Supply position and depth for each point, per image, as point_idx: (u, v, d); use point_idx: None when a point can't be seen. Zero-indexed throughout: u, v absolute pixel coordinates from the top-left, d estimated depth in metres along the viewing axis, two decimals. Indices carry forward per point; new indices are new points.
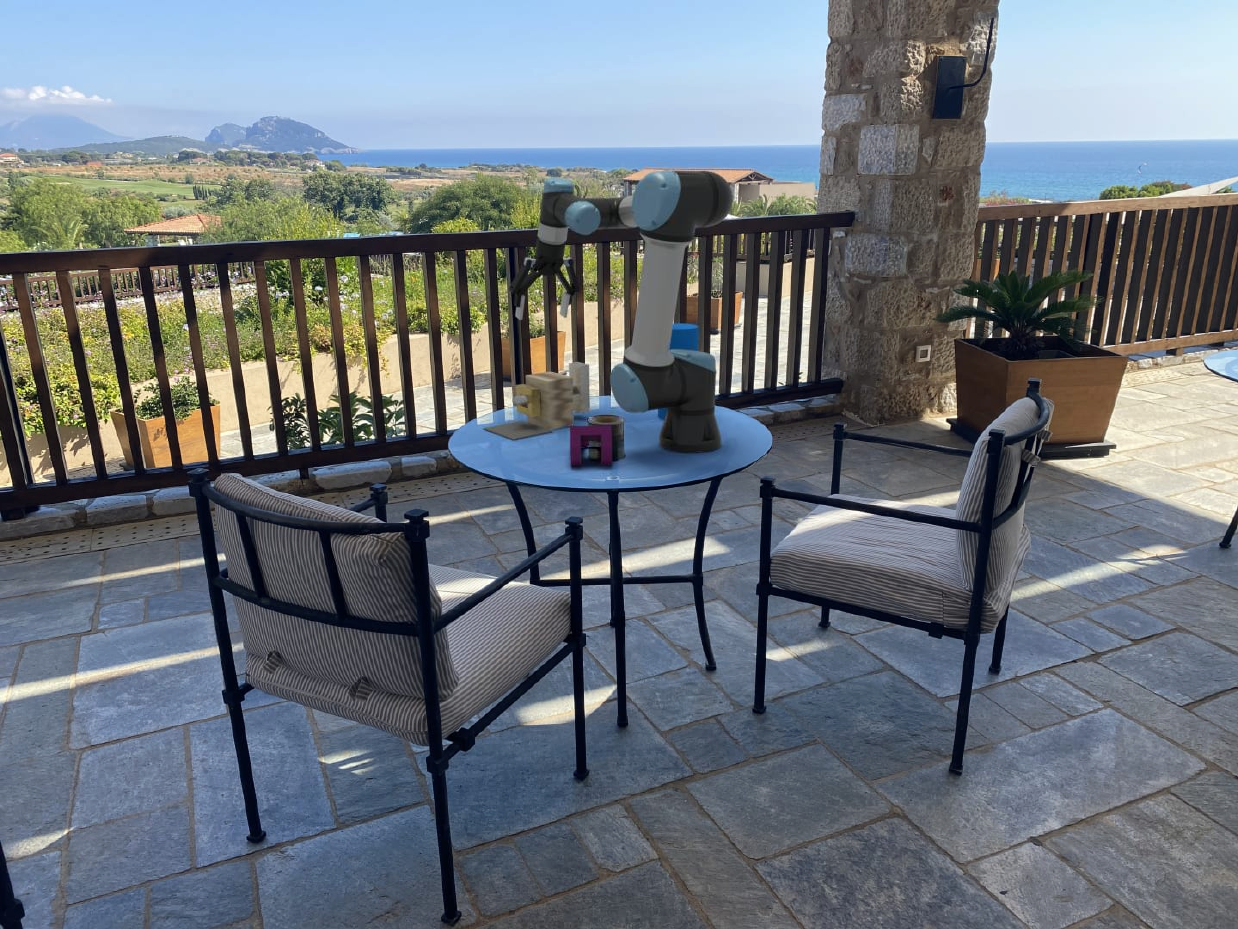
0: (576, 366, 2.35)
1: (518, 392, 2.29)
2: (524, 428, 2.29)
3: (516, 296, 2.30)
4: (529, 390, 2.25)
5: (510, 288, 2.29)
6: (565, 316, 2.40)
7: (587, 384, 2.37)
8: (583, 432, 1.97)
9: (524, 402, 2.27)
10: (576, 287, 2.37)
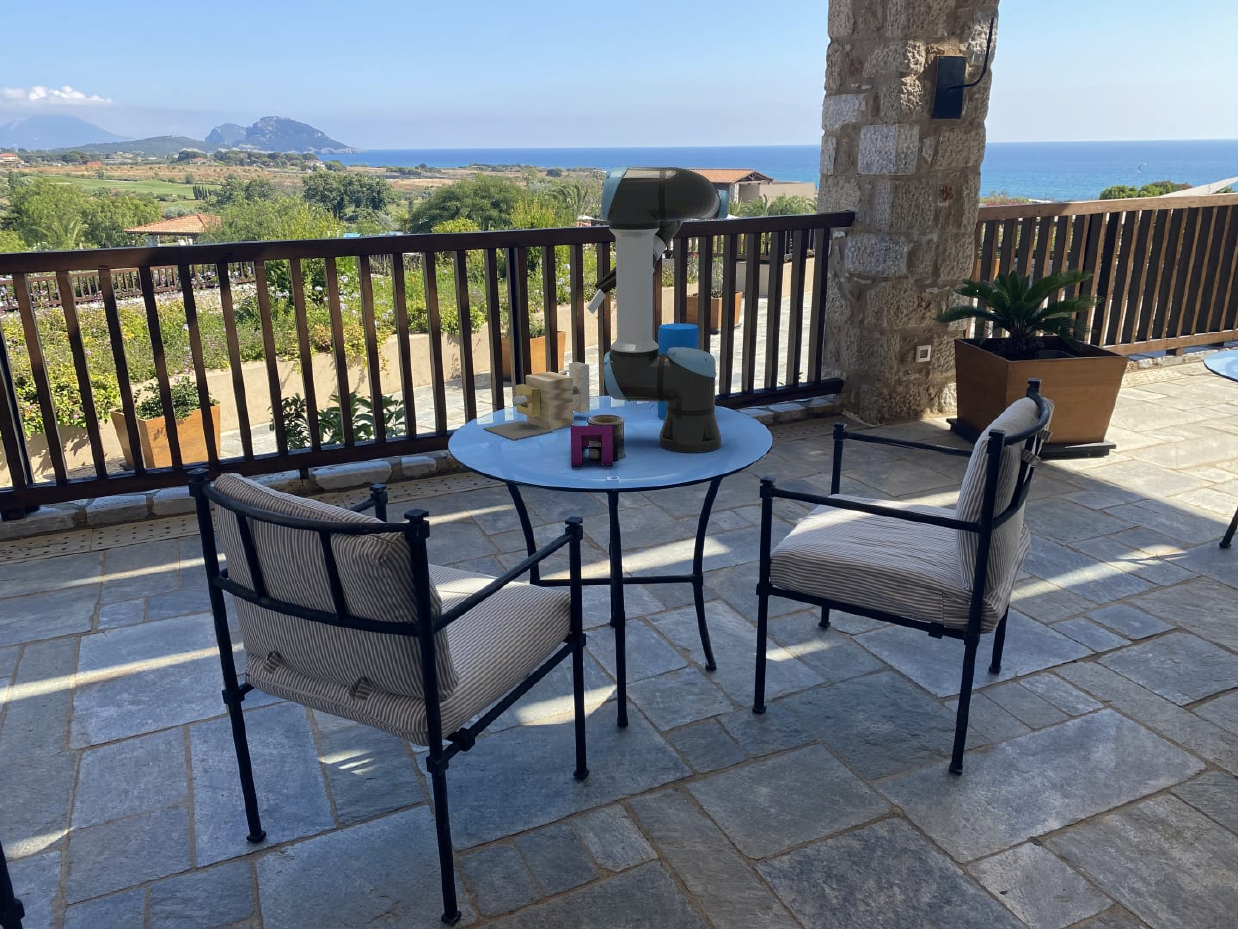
0: (576, 366, 2.35)
1: (518, 392, 2.29)
2: (524, 428, 2.29)
3: None
4: (529, 390, 2.25)
5: None
6: None
7: (587, 384, 2.37)
8: (583, 432, 1.97)
9: (524, 402, 2.27)
10: None
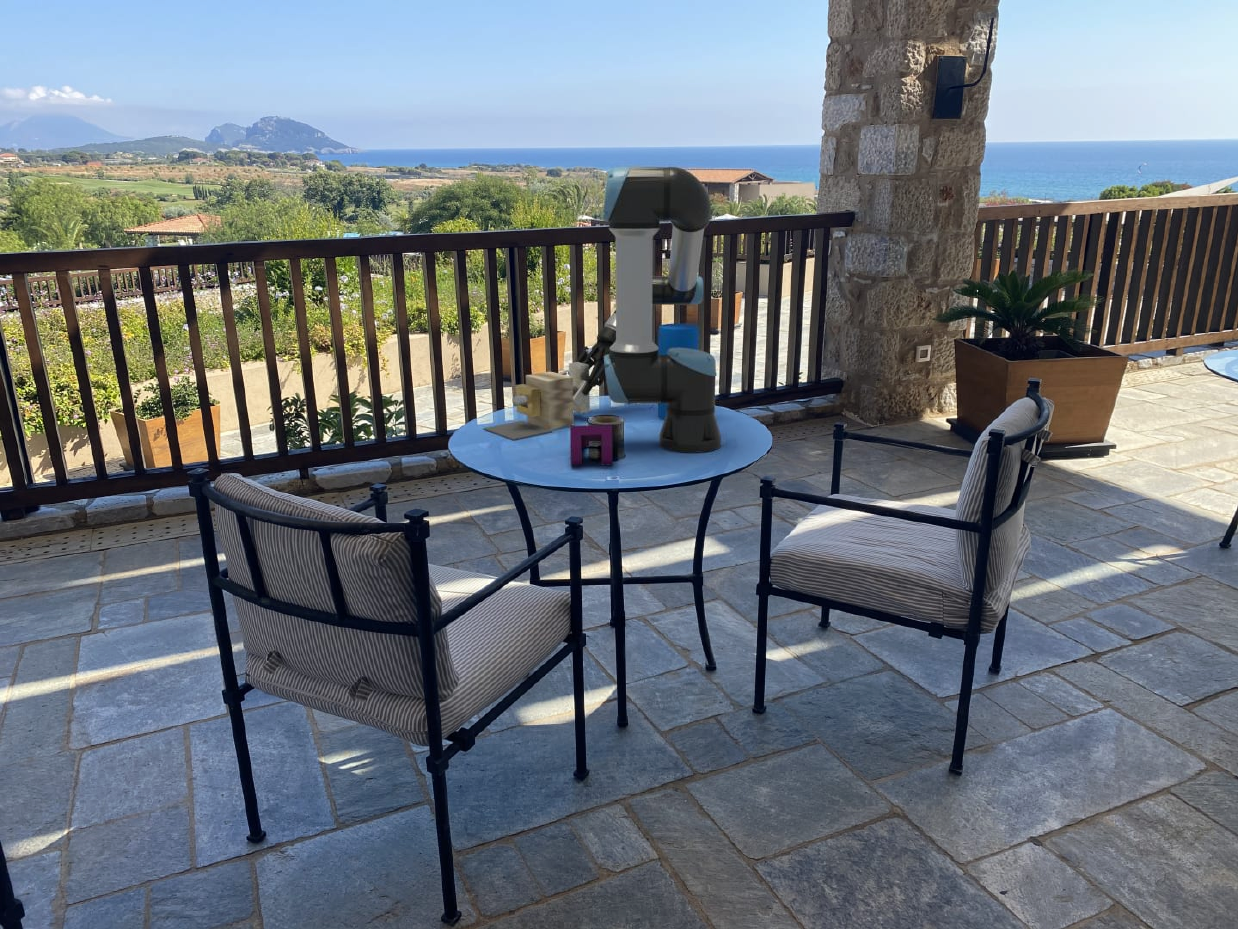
0: (576, 366, 2.35)
1: (518, 392, 2.29)
2: (524, 428, 2.29)
3: None
4: (529, 390, 2.25)
5: None
6: None
7: None
8: (583, 432, 1.97)
9: (524, 402, 2.27)
10: (596, 376, 2.35)
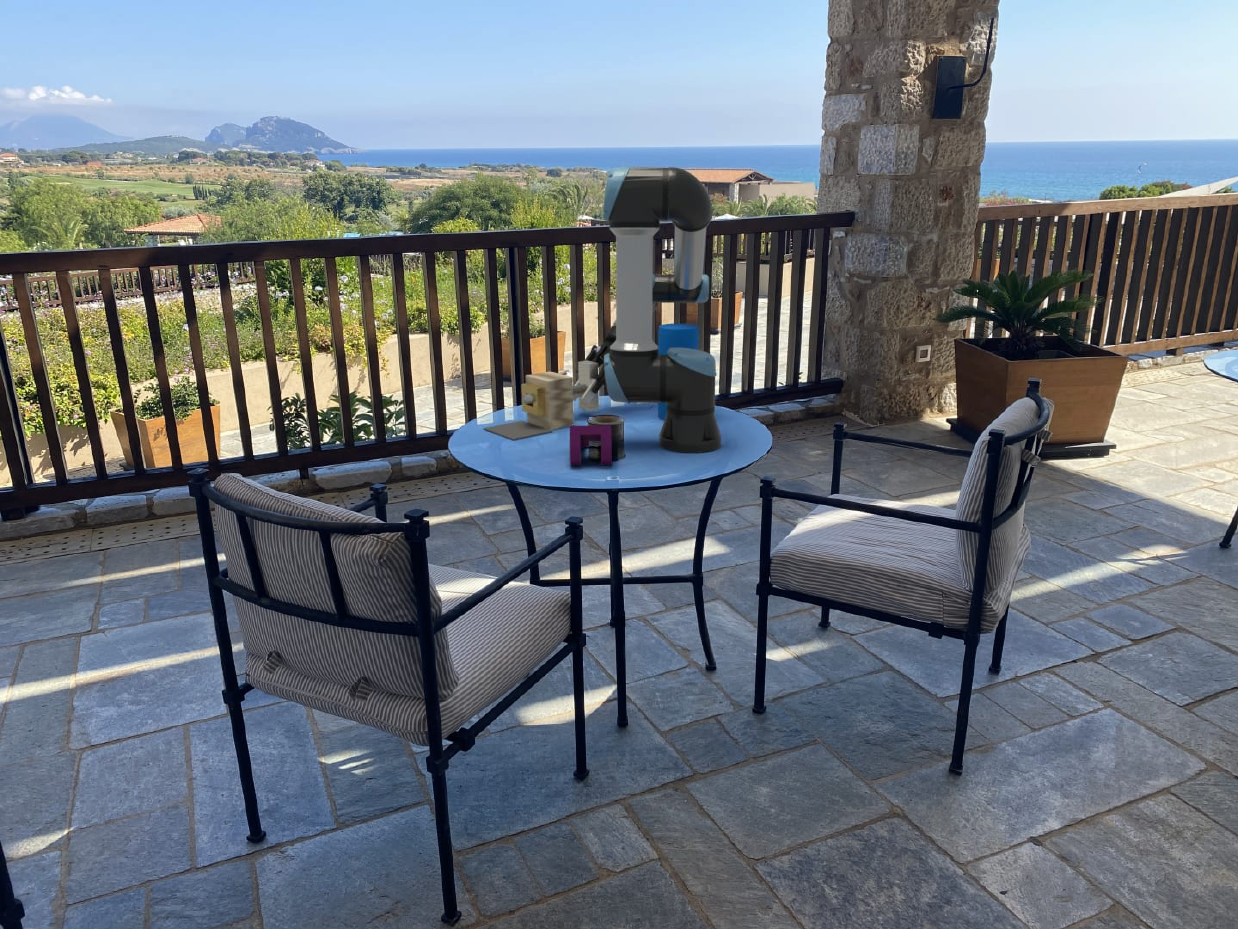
0: (585, 364, 2.37)
1: (524, 391, 2.30)
2: (524, 428, 2.29)
3: None
4: (535, 389, 2.26)
5: None
6: (582, 397, 2.36)
7: None
8: (582, 432, 1.97)
9: None
10: (605, 374, 2.37)
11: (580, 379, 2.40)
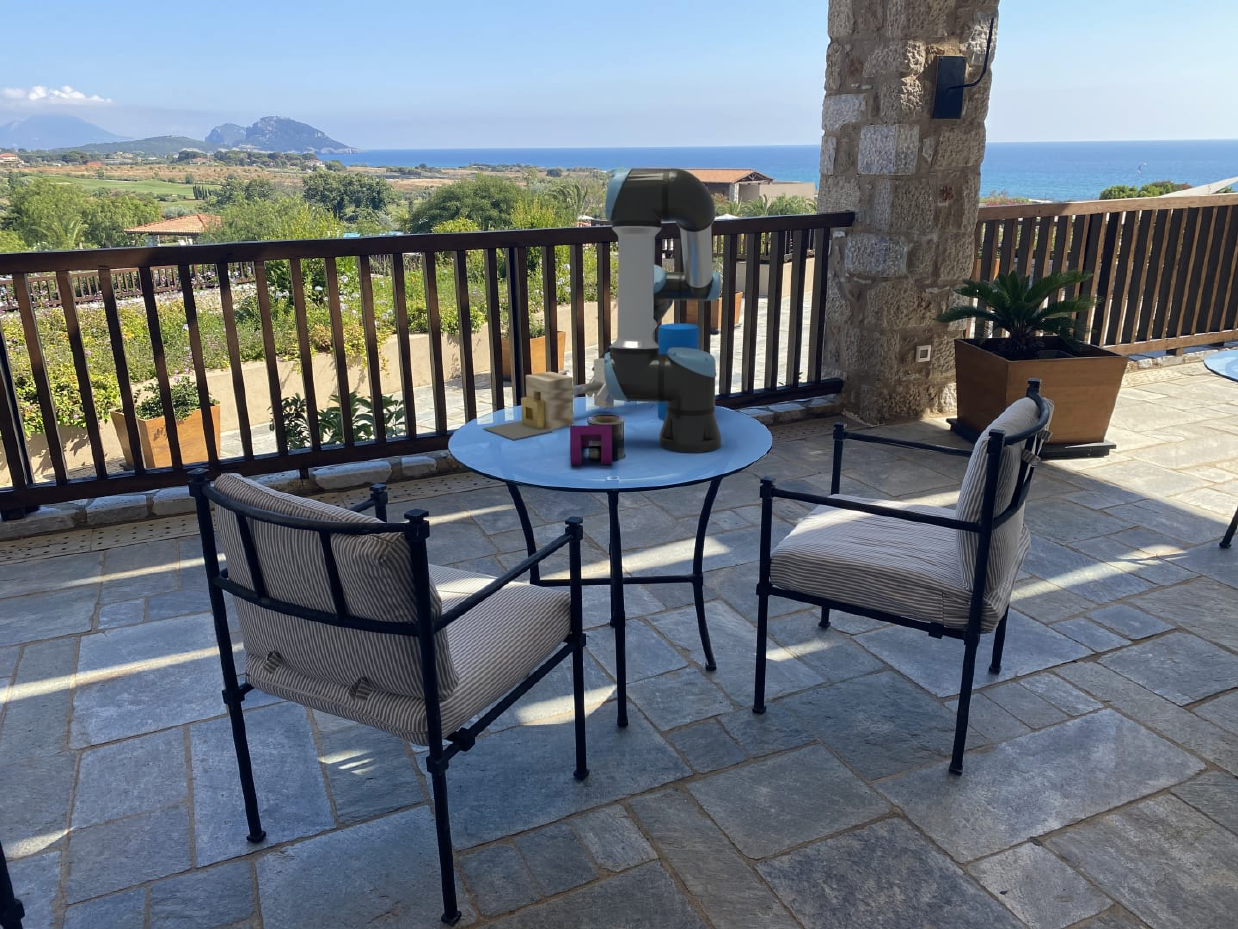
0: (601, 362, 2.40)
1: (523, 405, 2.31)
2: (524, 428, 2.29)
3: None
4: (534, 403, 2.27)
5: None
6: (597, 394, 2.40)
7: None
8: (583, 431, 1.97)
9: None
10: None
11: (595, 376, 2.44)
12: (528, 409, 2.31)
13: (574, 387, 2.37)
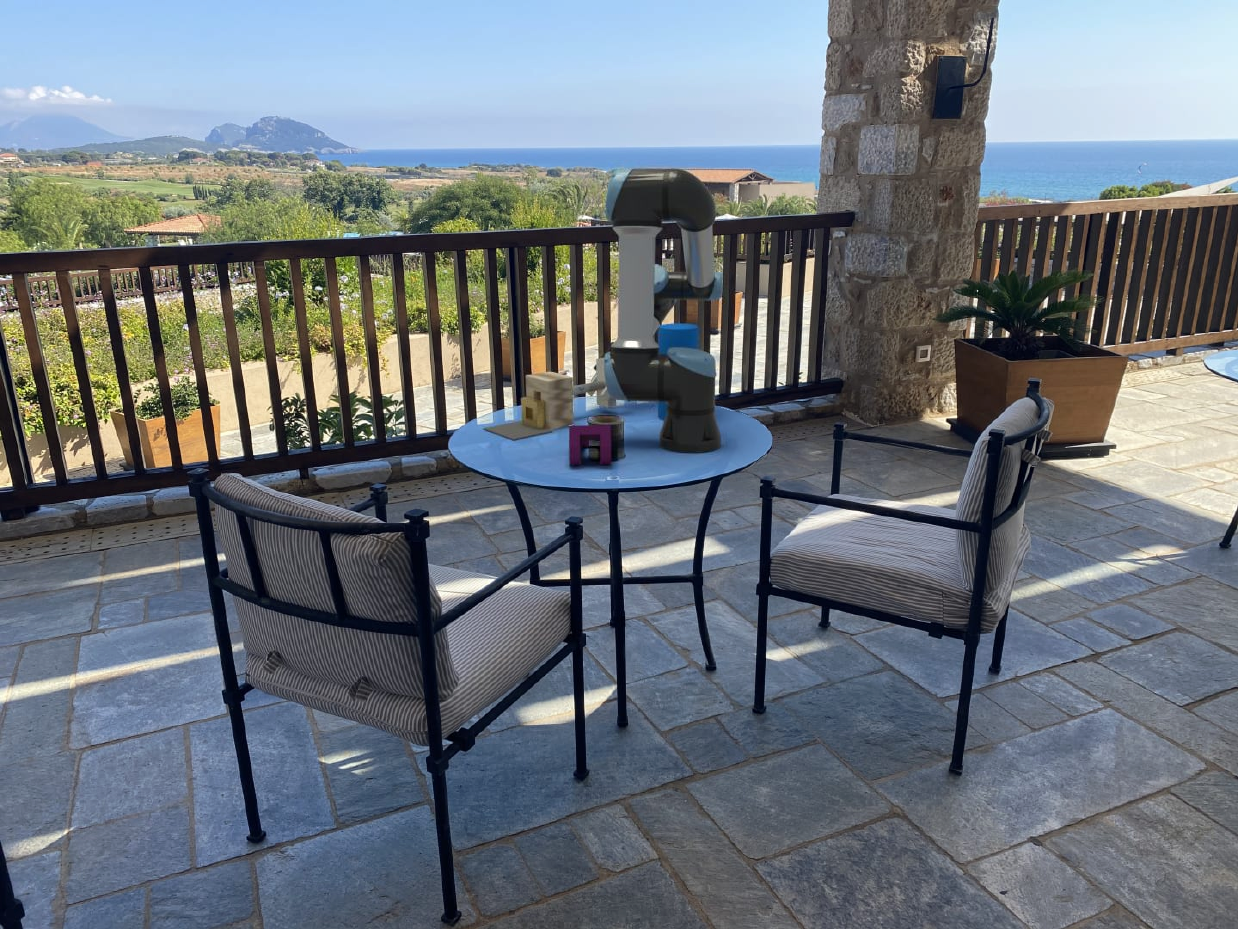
0: (603, 362, 2.41)
1: (523, 405, 2.31)
2: (524, 428, 2.29)
3: None
4: (534, 403, 2.27)
5: None
6: (602, 393, 2.40)
7: None
8: (582, 431, 1.97)
9: None
10: None
11: (598, 376, 2.44)
12: (528, 409, 2.31)
13: (577, 387, 2.37)
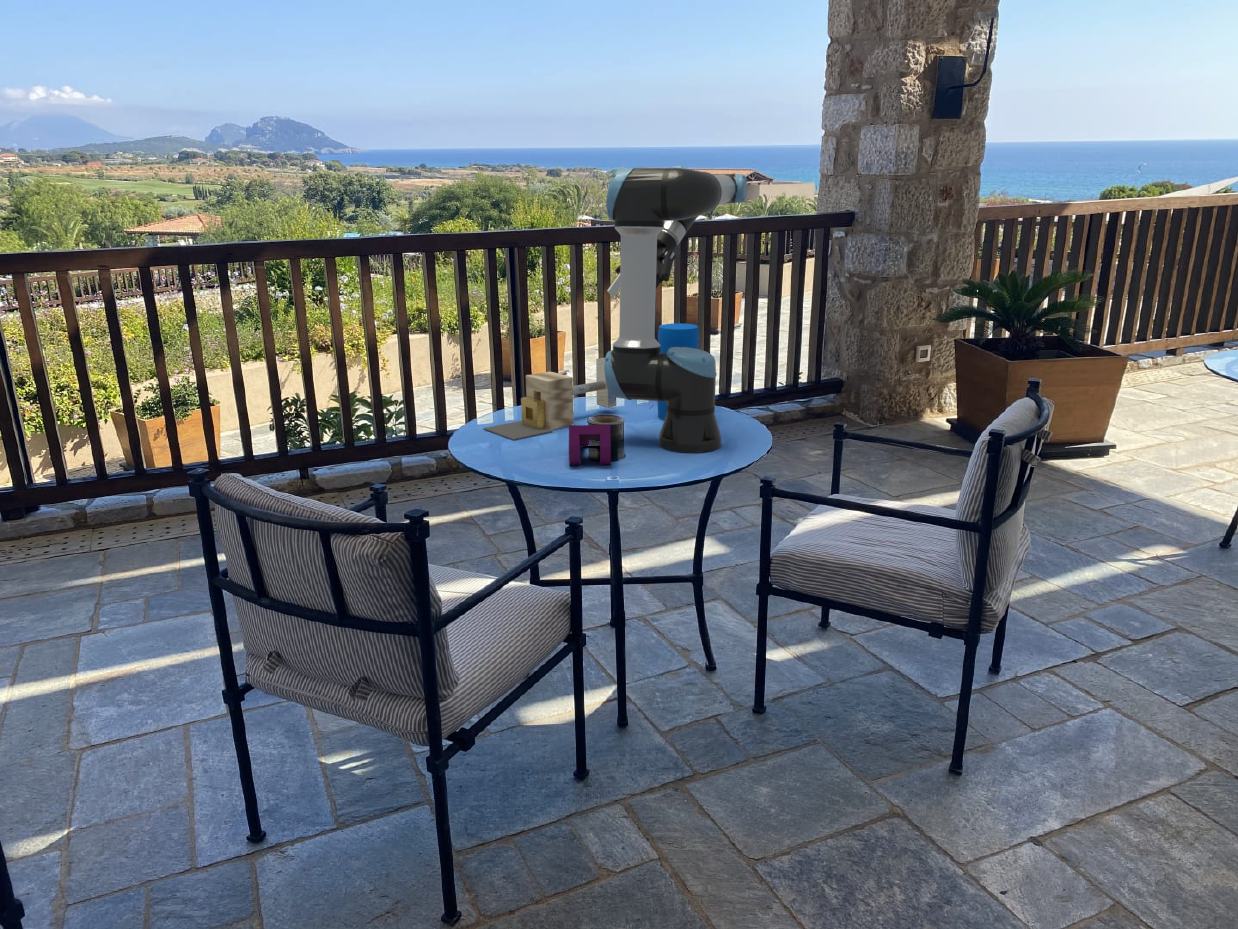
0: (603, 362, 2.41)
1: (523, 405, 2.31)
2: (524, 428, 2.29)
3: None
4: (534, 403, 2.27)
5: None
6: None
7: None
8: (581, 431, 1.97)
9: None
10: (662, 271, 2.37)
11: (598, 376, 2.44)
12: (528, 409, 2.31)
13: (577, 387, 2.37)
